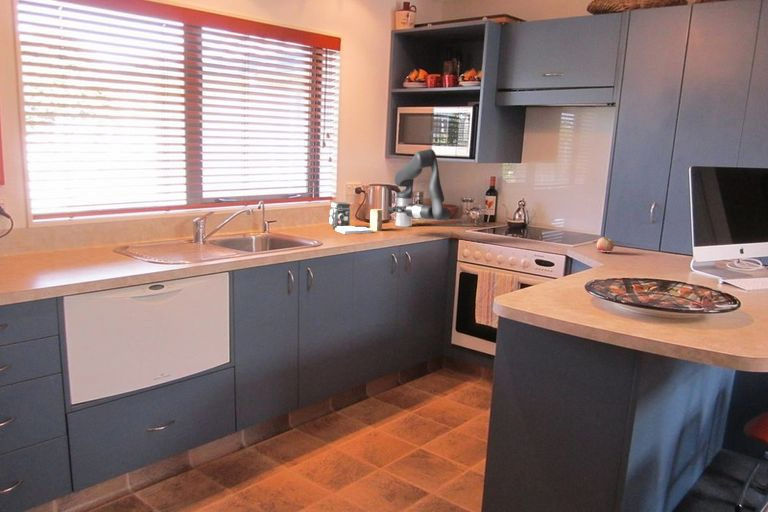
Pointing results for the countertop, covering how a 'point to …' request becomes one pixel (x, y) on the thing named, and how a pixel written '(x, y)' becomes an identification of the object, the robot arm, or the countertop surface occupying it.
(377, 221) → the light wooden block
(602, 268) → the countertop surface
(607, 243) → the fruit
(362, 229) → the baseplate
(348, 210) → the camera
